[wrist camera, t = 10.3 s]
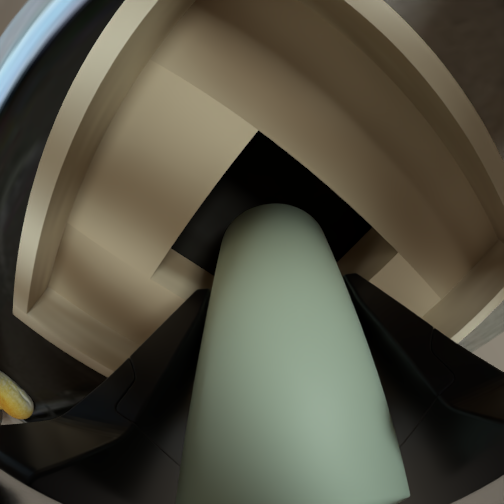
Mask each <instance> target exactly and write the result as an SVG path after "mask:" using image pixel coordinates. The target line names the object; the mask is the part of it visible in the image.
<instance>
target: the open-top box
mask: <svg viewBox="0 0 504 504" xmlns="http://www.w3.org/2000/svg"><path fill="white" fill-rule="evenodd" d="M258 130H259V131H260V132H262V133H263V134H264V135H265V136H267V137H268V138H269V139H271V140H272V141H273V142H275V143H276V144H277V145H279V146H280V147H281V148H282V149H284V150H285V151H286V152H287V153H289V154H290V155H291V156H292V157H294V158H295V159H296V160H297V161H299V162H300V163H301V164H302V165H304V166H305V167H306V168H307V169H308V170H310V171H311V172H312V173H313V174H314V175H316V176H317V177H318V178H319V179H320V180H321V181H323V182H324V183H325V184H326V185H327V186H328V187H330V188H331V189H332V190H333V191H334V192H335V193H336V194H338V195H339V196H340V197H341V198H342V199H343V200H344V201H345V202H346V203H348V204H349V205H350V206H351V207H352V208H353V209H354V210H355V211H356V212H357V213H358V214H360V215H361V216H362V217H363V218H364V219H365V220H366V221H367V222H368V223H369V224H370V225H371V226H372V228H371V229H370V230H369V231H368V232H367V233H366V234H365V235H364V236H363V237H362V238H361V239H360V240H359V241H358V242H357V243H356V244H355V245H354V246H353V247H352V248H351V249H350V250H349V251H348V252H347V253H346V254H345V255H344V256H343V257H342V258H341V259H340V260H339V261H338V262H337V265H338V268H339V270H340V273H341V275H342V277H343V276H344V275H345V274H351V273H357V274H359V275H360V276H362V277H363V278H365V279H366V280H368V281H369V282H371V283H372V284H373V285H375V286H376V287H378V288H379V289H381V290H382V291H384V292H385V293H387V294H388V295H389V296H391V297H392V298H394V299H395V300H397V301H398V302H399V303H401V304H402V305H404V306H405V307H407V308H408V309H409V310H411V311H412V312H414V313H415V314H416V315H418V316H419V317H421V318H422V319H423V320H425V321H426V322H428V323H429V324H430V325H432V326H433V329H434V328H436V329H437V330H439V331H440V332H441V333H443V334H444V335H446V336H447V337H448V338H450V339H451V340H453V341H454V342H456V343H457V344H458V343H459V342H460V341H461V340H462V339H464V338H465V337H466V336H467V335H468V334H469V333H470V332H471V331H472V330H474V329H475V328H476V327H477V326H478V325H479V324H480V323H481V322H482V321H483V320H484V319H485V318H486V317H487V316H488V315H489V314H490V313H491V312H492V311H493V310H494V309H495V308H496V307H497V306H498V305H499V304H500V303H501V302H502V301H503V300H504V162H503V159H502V157H501V155H500V153H499V151H498V149H497V147H496V145H495V143H494V141H493V140H492V138H491V136H490V134H489V132H488V130H487V129H486V127H485V125H484V123H483V122H482V120H481V118H480V117H479V115H478V113H477V112H476V110H475V108H474V107H473V105H472V104H471V102H470V101H469V99H468V98H467V96H466V95H465V93H464V92H463V90H462V89H461V87H460V86H459V84H458V83H457V82H456V80H455V79H454V77H453V76H452V75H451V73H450V72H449V71H448V69H447V68H446V67H445V66H444V64H443V63H442V62H441V61H440V59H439V58H438V57H437V56H436V54H435V53H434V52H433V51H432V50H431V48H430V47H429V46H428V45H427V44H426V43H425V42H424V40H423V39H422V38H421V37H420V36H419V35H418V34H417V33H416V32H415V31H414V30H413V29H412V28H411V26H410V25H409V24H408V23H407V22H406V21H405V20H404V19H403V18H402V17H401V16H400V15H399V14H397V13H396V12H395V11H394V10H393V9H392V8H391V7H390V6H389V5H388V4H387V3H386V2H385V1H383V0H125V1H124V2H123V4H122V5H121V6H120V8H119V9H118V10H117V12H116V13H115V15H114V16H113V17H112V19H111V20H110V22H109V23H108V24H107V26H106V27H105V29H104V30H103V32H102V33H101V35H100V36H99V38H98V40H97V41H96V43H95V44H94V46H93V48H92V49H91V51H90V53H89V54H88V56H87V58H86V59H85V61H84V63H83V65H82V66H81V68H80V70H79V72H78V74H77V76H76V78H75V79H74V81H73V83H72V85H71V87H70V89H69V91H68V93H67V96H66V98H65V100H64V102H63V104H62V106H61V109H60V111H59V113H58V115H57V118H56V120H55V123H54V125H53V127H52V130H51V132H50V135H49V138H48V140H47V143H46V146H45V149H44V151H43V154H42V157H41V160H40V163H39V166H38V170H37V173H36V176H35V180H34V183H33V187H32V190H31V194H30V198H29V202H28V206H27V210H26V215H25V219H24V224H23V229H22V235H21V240H20V246H19V253H18V260H17V267H16V276H15V286H14V300H13V314H14V315H15V316H16V317H17V318H19V319H20V320H21V321H22V322H24V323H25V324H26V325H28V326H29V327H30V328H32V329H33V330H34V331H36V332H37V333H38V334H40V335H41V336H43V337H44V338H45V339H47V340H48V341H50V342H51V343H53V344H54V345H55V346H57V347H58V348H60V349H61V350H63V351H64V352H66V353H68V354H69V355H71V356H72V357H74V358H75V359H77V360H79V361H80V362H82V363H84V364H85V365H87V366H89V367H90V368H92V369H94V370H95V371H97V372H99V373H101V374H102V375H104V376H106V377H109V376H110V375H111V374H112V373H113V372H114V371H115V370H116V369H117V368H118V367H120V366H121V365H122V364H123V363H124V362H125V360H126V359H127V358H130V356H131V355H132V354H133V353H134V352H135V351H136V350H137V349H138V348H139V346H140V345H141V344H142V343H143V342H144V341H145V340H146V339H147V338H148V337H149V336H150V335H151V334H152V333H153V332H154V331H155V330H156V329H157V328H158V327H159V326H160V325H161V324H162V323H163V322H164V321H165V320H166V319H167V318H168V317H169V316H170V315H171V314H172V313H173V312H175V311H176V310H177V309H178V308H179V307H180V306H181V305H182V304H183V303H184V302H185V301H186V300H187V299H188V298H189V297H190V296H191V295H192V294H193V293H194V292H195V291H196V290H197V289H206V288H209V289H210V290H212V286H213V281H214V275H212V274H210V273H209V272H207V271H206V270H204V269H202V268H201V267H199V266H198V265H196V264H194V263H193V262H191V261H190V260H188V259H187V258H185V257H183V256H182V255H180V254H179V253H177V252H176V251H174V250H173V249H171V247H172V245H173V244H174V242H175V241H176V239H177V238H178V236H179V235H180V234H181V232H182V231H183V229H184V228H185V226H186V225H187V224H188V222H189V221H190V219H191V218H192V217H193V215H194V214H195V212H196V211H197V210H198V208H199V207H200V205H201V204H202V203H203V201H204V200H205V199H206V197H207V196H208V195H209V193H210V192H211V190H212V189H213V188H214V186H215V185H216V184H217V182H218V181H219V180H220V178H221V177H222V176H223V175H224V173H225V172H226V171H227V169H228V168H229V167H230V165H231V164H232V163H233V162H234V160H235V159H236V158H237V156H238V155H239V154H240V153H241V151H242V150H243V149H244V148H245V146H246V145H247V144H248V143H249V141H250V140H251V139H252V138H253V136H254V135H255V134H256V133H257V131H258Z"/></svg>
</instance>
